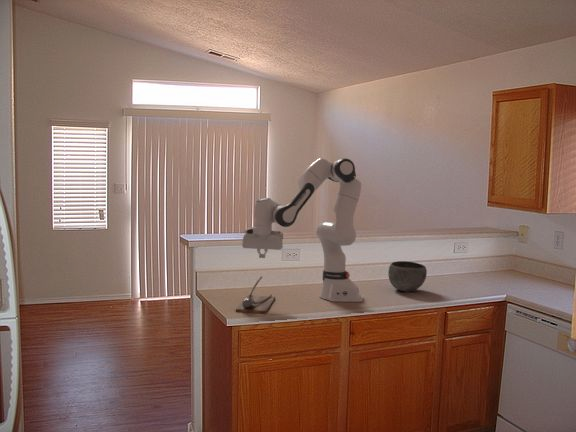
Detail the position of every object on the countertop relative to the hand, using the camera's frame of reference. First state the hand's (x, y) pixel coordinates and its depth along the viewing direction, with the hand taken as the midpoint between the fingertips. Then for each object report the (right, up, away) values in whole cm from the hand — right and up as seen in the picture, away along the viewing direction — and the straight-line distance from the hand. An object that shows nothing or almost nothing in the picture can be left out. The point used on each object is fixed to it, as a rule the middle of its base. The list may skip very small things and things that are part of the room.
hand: (262, 257), depth 290 cm
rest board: (-2, -22, -11) cm, 25 cm away
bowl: (+79, -21, +30) cm, 87 cm away
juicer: (0, -15, +4) cm, 15 cm away
